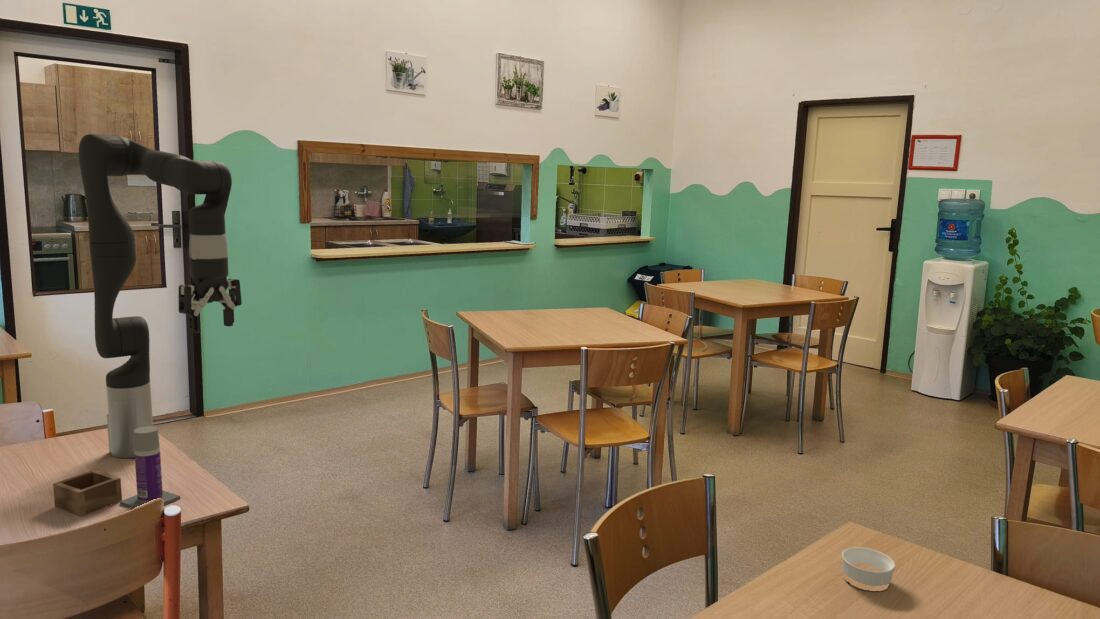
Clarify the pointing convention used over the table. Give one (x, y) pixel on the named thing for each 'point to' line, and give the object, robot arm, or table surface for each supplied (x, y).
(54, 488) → the holder
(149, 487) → the container
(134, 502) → the mat
